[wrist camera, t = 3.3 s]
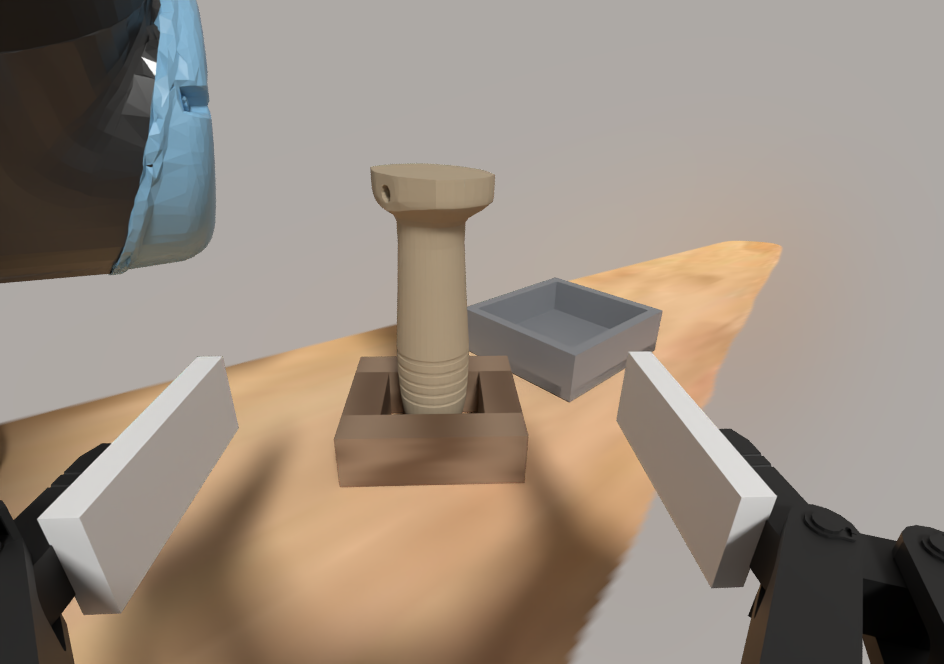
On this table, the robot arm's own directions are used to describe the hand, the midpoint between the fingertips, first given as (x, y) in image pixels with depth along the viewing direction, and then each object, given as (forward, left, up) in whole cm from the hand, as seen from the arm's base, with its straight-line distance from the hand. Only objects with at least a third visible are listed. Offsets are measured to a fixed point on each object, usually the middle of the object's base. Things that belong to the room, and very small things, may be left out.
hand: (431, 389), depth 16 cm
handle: (0, +10, -9) cm, 14 cm away
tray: (+10, +21, -9) cm, 25 cm away
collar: (0, +10, -9) cm, 13 cm away
